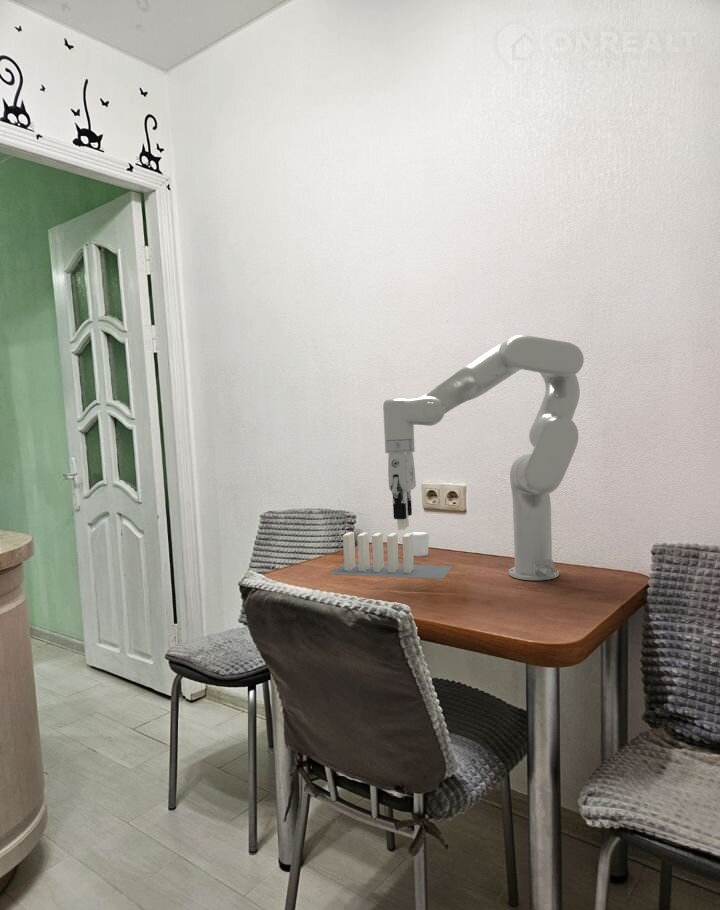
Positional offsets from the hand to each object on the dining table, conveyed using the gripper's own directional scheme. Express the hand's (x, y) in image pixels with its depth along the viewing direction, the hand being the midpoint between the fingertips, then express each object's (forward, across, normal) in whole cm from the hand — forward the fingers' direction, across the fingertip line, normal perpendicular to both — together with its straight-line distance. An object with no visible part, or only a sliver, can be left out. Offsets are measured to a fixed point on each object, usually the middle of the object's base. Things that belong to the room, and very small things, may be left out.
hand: (402, 516), depth 167 cm
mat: (+17, +10, +7) cm, 21 cm away
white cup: (+18, +31, +4) cm, 36 cm away
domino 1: (+17, +10, +19) cm, 27 cm away
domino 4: (+17, +10, +6) cm, 21 cm away
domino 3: (+17, +10, +10) cm, 22 cm away
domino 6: (+17, +10, +2) cm, 20 cm away
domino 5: (+3, 0, 0) cm, 3 cm away
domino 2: (+17, +10, +15) cm, 25 cm away
